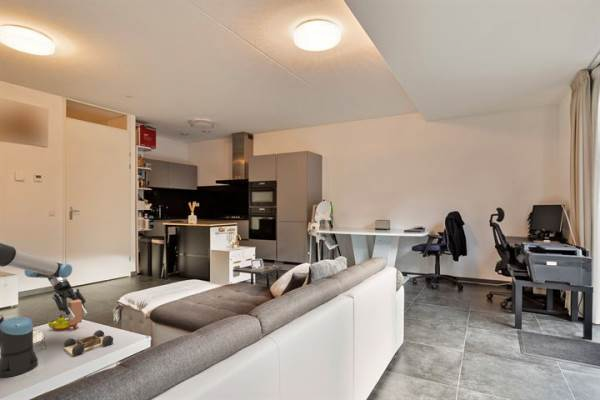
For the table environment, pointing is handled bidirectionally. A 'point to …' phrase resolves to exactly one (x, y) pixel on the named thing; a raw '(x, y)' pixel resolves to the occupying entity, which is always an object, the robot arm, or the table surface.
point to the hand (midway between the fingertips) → (79, 316)
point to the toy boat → (61, 324)
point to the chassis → (87, 343)
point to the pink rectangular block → (75, 311)
